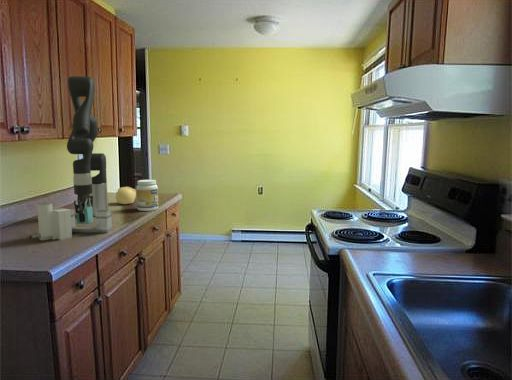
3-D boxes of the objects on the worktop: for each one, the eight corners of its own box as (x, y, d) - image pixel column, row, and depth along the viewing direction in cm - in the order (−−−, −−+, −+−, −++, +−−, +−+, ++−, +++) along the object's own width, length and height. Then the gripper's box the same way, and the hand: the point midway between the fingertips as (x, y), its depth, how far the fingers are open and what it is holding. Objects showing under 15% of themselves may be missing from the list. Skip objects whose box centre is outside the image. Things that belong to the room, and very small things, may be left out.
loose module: (93, 221, 176) (92, 205, 175) (88, 223, 171) (87, 207, 170) (82, 221, 176) (81, 205, 175) (77, 223, 171) (76, 207, 170)
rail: (65, 229, 177) (63, 209, 176) (112, 229, 176) (111, 209, 175) (58, 232, 172) (57, 211, 170) (107, 232, 171) (106, 212, 170)
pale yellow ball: (138, 202, 246) (138, 185, 244) (130, 205, 234) (129, 188, 232) (121, 201, 247) (120, 185, 245) (112, 205, 235) (111, 187, 234)
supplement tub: (156, 211, 218) (155, 181, 215) (134, 211, 217) (133, 182, 214) (160, 207, 230) (159, 179, 227) (139, 207, 229) (138, 179, 226)
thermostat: (72, 237, 164) (69, 203, 161) (36, 245, 153) (33, 208, 151) (59, 232, 171) (56, 199, 169) (24, 239, 160) (21, 204, 158)
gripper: (83, 185, 164) (86, 224, 166) (98, 181, 178) (100, 217, 180) (66, 185, 164) (69, 224, 166) (82, 181, 178) (84, 217, 180)
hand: (85, 220), depth 173 cm, fingers closed on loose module, 5 cm apart
